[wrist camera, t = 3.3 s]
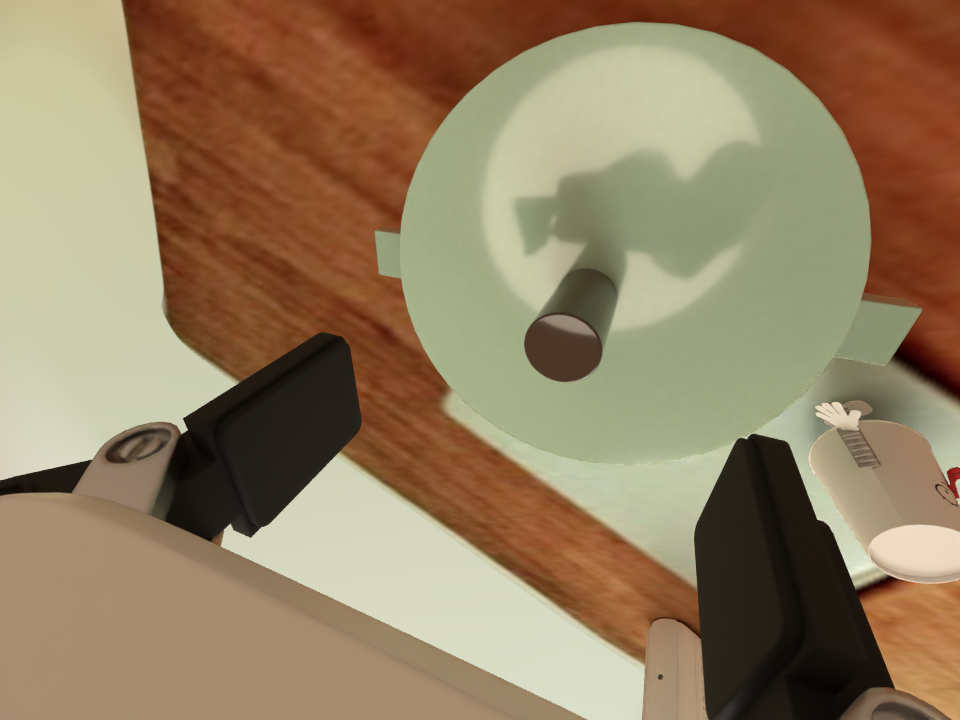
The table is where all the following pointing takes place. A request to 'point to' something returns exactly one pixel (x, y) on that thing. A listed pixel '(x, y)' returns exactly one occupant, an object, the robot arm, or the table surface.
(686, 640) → the photo printer
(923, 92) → the table surface
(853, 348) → the pot
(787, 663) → the robot arm
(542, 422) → the lid
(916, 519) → the toy figure
